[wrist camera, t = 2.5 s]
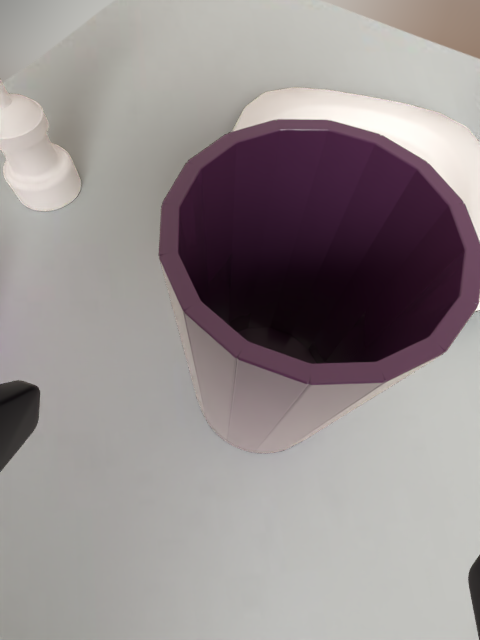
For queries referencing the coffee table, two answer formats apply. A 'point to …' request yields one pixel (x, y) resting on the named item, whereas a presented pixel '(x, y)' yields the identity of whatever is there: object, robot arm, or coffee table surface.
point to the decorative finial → (34, 156)
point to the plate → (385, 131)
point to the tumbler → (311, 274)
